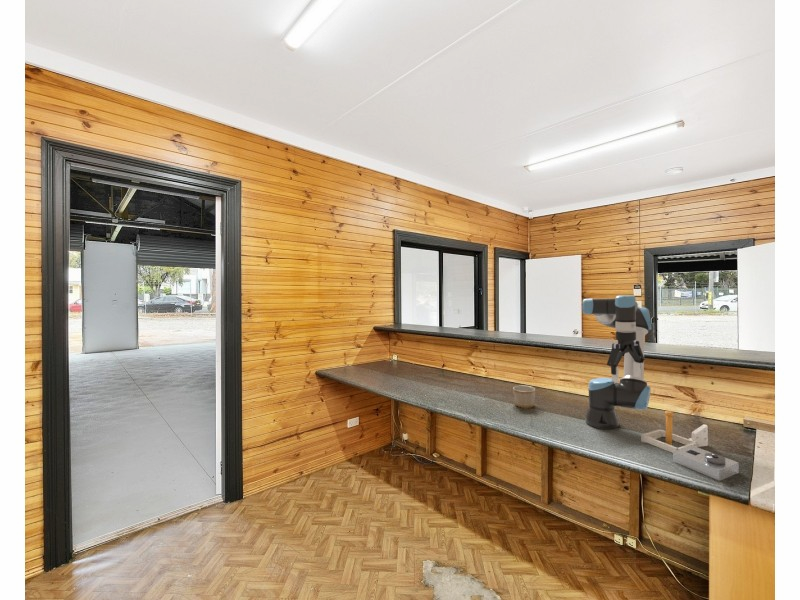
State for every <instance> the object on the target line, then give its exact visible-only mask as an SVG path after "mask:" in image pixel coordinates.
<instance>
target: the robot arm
mask: <svg viewBox="0 0 800 600" xmlns="http://www.w3.org/2000/svg"><path fill="white" fill-rule="evenodd" d="M581 306H582V307H581V309H582V313H583V315H590V316H591V315H592V316H594V317H595V319H596V321H597V322H598V323H600V324H601V325H603V326H606V327H609V328H614V329H615V340H616V341H617V343H614V342H612V345H611V351H610V354H609V357H608V359H607V363H606V365H607V366H608V367H610V373H611V377H610V378H609V377H597V378H593V379H591V380H590V381H589V382H588V409H587V412H586V415H585V423H586V424H587V425H588V424H589V426H590V425H591V426H590V427H593V426H594V427H593V428H596V427H597V429H601V428H602V429H603V430H613V429H617V428H618V427H620V426H619V425H620V424H619V422H620V421H619V418H618V417H617V414H616V410H615V407H617V408H618V407H621V408H626V409H633V410H641V411H644V410H647V409H648V406H649V403H650V398H651V397H650V396H651V390H652V389H651V387H650V385H648V382H647V380H645V377H644V374H645V370H644V369H645V338H646V337H645V336H646V335H647V334H648V333H649V331H650V330H652V322H651V321H652V320H651V314H650V310H649V308H648V307H640V306H639V305H638V301H636V296H634V295H632V294H631V295H630V294H629V295H628V294H626V295H616V296H615V298H592V297H590V298H584V299H583V300H582V305H581ZM623 356H624V357H623ZM622 358H623V360H624V361H623V375H622V377H621V378H619V363H620V362H621V360H622Z"/></svg>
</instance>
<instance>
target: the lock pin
mask: <svg viewBox="0 0 800 600" xmlns="http://www.w3.org/2000/svg"><path fill="white" fill-rule="evenodd" d="M664 415H665V431H666V437H665V443H666V444H669V445H671V446H673V440H672V434H673V425H674V424H673V421H674V419H673V417H674V415H675V413H674V411H671V410H665V411H664Z"/></svg>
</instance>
